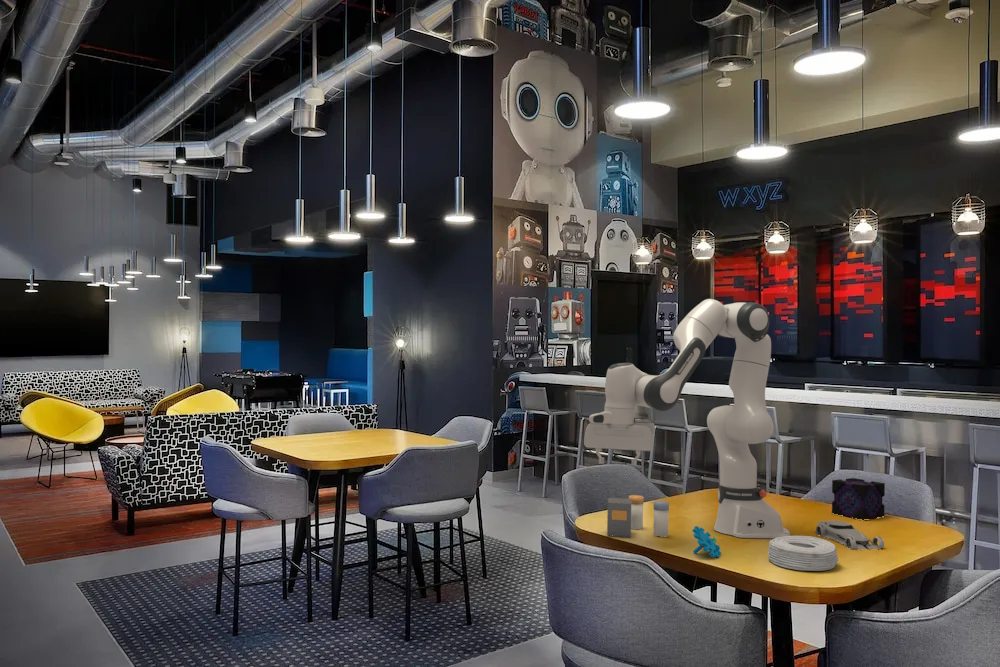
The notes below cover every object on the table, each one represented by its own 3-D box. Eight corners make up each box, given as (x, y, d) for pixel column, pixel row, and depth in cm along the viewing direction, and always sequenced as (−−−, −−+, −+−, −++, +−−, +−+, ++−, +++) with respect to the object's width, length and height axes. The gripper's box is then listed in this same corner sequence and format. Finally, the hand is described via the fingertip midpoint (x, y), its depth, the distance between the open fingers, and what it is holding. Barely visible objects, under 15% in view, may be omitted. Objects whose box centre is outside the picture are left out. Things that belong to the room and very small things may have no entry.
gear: (713, 555, 207) (690, 524, 212) (697, 569, 209) (675, 537, 214) (729, 554, 215) (707, 524, 221) (714, 566, 217) (692, 536, 223)
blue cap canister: (668, 534, 237) (668, 501, 238) (668, 537, 233) (669, 504, 233) (652, 533, 238) (653, 500, 238) (653, 536, 234) (653, 503, 234)
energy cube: (853, 511, 279) (853, 477, 280) (884, 517, 269) (884, 483, 269) (831, 514, 273) (832, 480, 274) (863, 521, 263) (863, 485, 263)
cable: (828, 558, 214) (829, 536, 214) (846, 576, 197) (846, 552, 197) (762, 554, 217) (763, 532, 217) (774, 571, 200) (774, 548, 200)
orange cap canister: (642, 527, 247) (643, 495, 247) (643, 530, 242) (643, 498, 242) (628, 526, 247) (628, 494, 248) (628, 529, 243) (628, 497, 243)
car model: (851, 551, 222) (851, 534, 223) (806, 531, 247) (806, 516, 247) (887, 551, 224) (887, 533, 224) (839, 531, 248) (839, 515, 248)
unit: (630, 531, 240) (631, 498, 241) (630, 537, 232) (631, 504, 232) (608, 529, 242) (608, 497, 242) (607, 536, 233) (607, 502, 233)
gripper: (654, 418, 230) (653, 465, 230) (585, 415, 234) (584, 461, 234) (655, 420, 224) (653, 468, 224) (584, 416, 228) (582, 463, 228)
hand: (617, 464), depth 229 cm, fingers open, 8 cm apart
